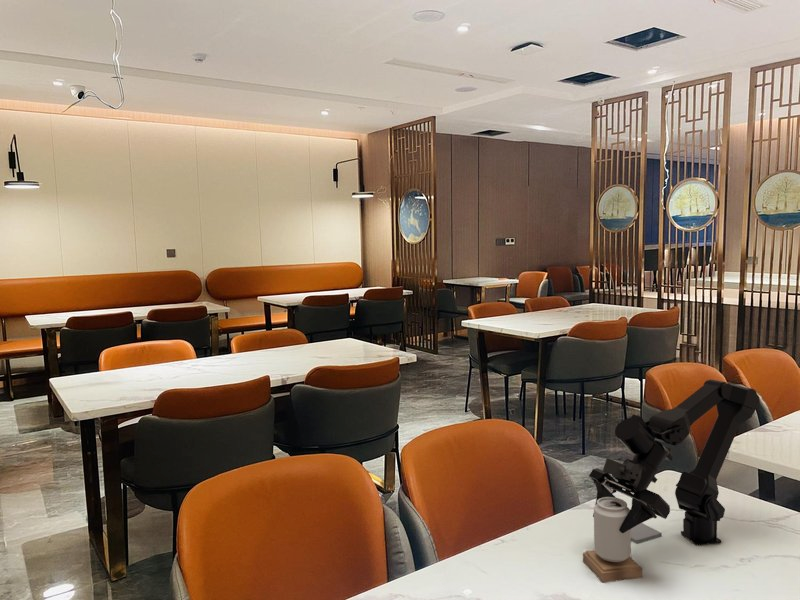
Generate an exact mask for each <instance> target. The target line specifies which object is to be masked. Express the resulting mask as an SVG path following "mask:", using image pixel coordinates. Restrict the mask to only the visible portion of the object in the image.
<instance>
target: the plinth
mask: <svg viewBox="0 0 800 600" xmlns="http://www.w3.org/2000/svg"><path fill="white" fill-rule="evenodd" d="M582 561H583V563H584V564H585V565H586V566H587V567H588V569H590V571H591V572H592V573H593V572H594V573H595V574H596V575H597V576H598V577H599V578H600V579H601V580H600V579H599V578H598V577H597V576H596V575H595V574H594V573H593V574H594V575H595V576H596V577H597V578H598V579H599V580H600V581H601V582H602V583H608V582H607V581H611V582H617V581H616V580H618V581H624V579H626V580H633V579H632V578H634V579H641V578H643V567H642V566H640V565H639V563H638V562H636V561H635V560H634V559H633V558H632V557H631V555H630V556H629V557H628V558H627V559H626V560H624V561H621V562H611V561H607V560H604V559H602V558H601V557H600V556H599V555H598V554H597V553H596V552H595V550H594V549H592V550H587V551H585V552H582ZM640 577H641V578H640Z"/></svg>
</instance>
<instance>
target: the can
mask: <svg viewBox="0 0 800 600" xmlns="http://www.w3.org/2000/svg"><path fill="white" fill-rule="evenodd" d="M595 504H596V503H595ZM630 509H631V508H629V507H628V502H626V501H625V500H624V499H621V498H619V497H616V498H614V497H603V498H600V499H598V500H597V504H596V505H594V506H593V513H594V517H593V536H594V537H593V539H594V540H593V543H594V547H593V548H594V549H593V550H595V552H596V553H597V554H598V555H599V556H600V557H601V558H602V559H604V560H607V561H611V562H621V561H624V560H626V559H627V558H628V557H629V556H630V557H631V555H632V550H631V549H632V547H631V545H632V543H631V542H632V541H631V529H630V530H628V531H626V532H625V533H621V532H620V531H619V529H620V527H621V525H622V523H623V521H624V520H625V518H626V516H627V514H628V513H629V511H630Z"/></svg>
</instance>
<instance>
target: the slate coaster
mask: <svg viewBox="0 0 800 600" xmlns="http://www.w3.org/2000/svg"><path fill="white" fill-rule="evenodd" d="M662 534H663V533H662V532H660V531H658V530H656V529H655V528H652V527H650V526H649V525H647V524H645V523H644V522H642V523H640V524H638V525H637V526H635V527H633V528H632V529H631V542H633V543H634V544H641V543H643V542H648V541H650V540H654V539H657V538H660V537H662Z"/></svg>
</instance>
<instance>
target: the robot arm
mask: <svg viewBox="0 0 800 600" xmlns="http://www.w3.org/2000/svg"><path fill="white" fill-rule="evenodd" d="M759 405H760V396H759V394H758V393H757V391H756V390H755V389H754V388H751V387H745V386H740V385H734V384H731V383H728V382H726V381H721V380H718V379H712V378H711V379H706V380H705V382H704V383H703V385H702V386H701V387H699V388H698V389H697V390H696V391H695V392H693V393H692V394H691V395H689V396H688V397H687V398H686V399H684V400H683V401H681V402H680V403H679V404H678V405H676V407H673V408H669V409H664V410H660V411H659V412H658V413H654V415H652V416H651V417H650V418H649V419H647V420H644V419H643V417H642V416H641V415H637V414H634V413H633V414H632V415H631V416H630V417H629V418H625V419H623V420H622V421H620V422H618V423H617V425H616V427H615V428H614V434H615V437H616V438H617V439H618V440H619V441H620V442H621V443H622V444H623V445H624V446H625V447H626V448H627V450H628V451H629V452H630V453H632V454H633V456H632V457H631V459H629V458H626V459H624V460H623V462H620V461H617V460H615V459H612V458H608V457H606V459H605V462H604V465H603V468H602V469H600V468H592V470H591V472H590V473H589V474H588V478H589V479H591V481H592V482H593V484H594V486H595V487H596V498H595V505H596V504H597V500H598V499H600V498H603V497H614V498H617V497H616V496H615V495H614V494H615V493H617V492H618V493H620V494H622V495H624V496H627V497H629V498H630V499H631V498H632V499H631V508H629V509H630V511H629V513H628V514H627V516H626V518H625V520H624V521H623V523H622V525H621V527H620V529H619V531H620V532H621V533H625V532H626V531H628V530H630V529H632V528H633V527H635V526H637V525H638V524H640V523H645V522H646V521H648V520H651V519H657V518H658V517H661V518H662V519H665V520H666V519H667V518H668V517H669V514H670V513H671V506H670V504H669V503H668V502H667V501H666V500H665V499H664V498H663V497H662V496H661V495H660V494H658V493H657V492H654V491H652V490H649V489H648V488H649V486H650V484H651V483H654V484H656V482H658V478H657V477H656V474H657V473H658V471H659V470H660V468H661V466H662V465H663V463H664V461H665V460H666V461H670V462H672V461H674V460H673V459H674V458H673V454H672V451H671V448H670V447H667V446H664V445H663V444H662V443H664V444H665V443H666V444H667V445H671V446H679V445H680V444H682V443H683V441H684V440H685V439H686V438H687V437H688V435H690V433H691V427H692V426H693V424H694V423H695V422H697V421H698V420H699V419H701V417H703V416H704V415H705V414H707V413H708V411H710V410H711V409H712V408H714V407H715V406H716V411H717V416H716V417H717V418H716V419H715V421H714V424H713V427H712V429H711V430H710V433H709V435H708V438H707V439H706V441H705V444H704V446H703V449H702V451H701V454H700V456H699V457H698V460H697V463H696V464H695V467H694V468H693V469H692V470H690V471H689V472H687V471H685V470H683V471H682V472H681V474H680V477H679V480H678V482H677V483H676V484H675V487H676V488H675V490H674V495H675V500H676V502H677V505H678V508H679V510H681V511H682V510H683V511H685V512H684V518H683V519H682V523H683V525H682V527H683V528H682V529H683V530H681V531H680V535H682V536H683V537H684V538H686V539H688V540H689V541H690V542H691V543H692V544H694V545H695V546H704V545H713V544H720V543H722V539H720V538H719V537H718V534H717V533H718V526H717V525H718V522H721V519H723V518H724V516H725V511H726V509H725V506H723V504H722V503H720V501H719V500H718V496H719V493H720V492H719V487H718V481H717V478H718V476H719V473H720V472H721V470H722V467H723V465H724V463H725V460H726V458H727V455H728V453H729V451H730V448H731V447H732V444H733V442H734V439H735V438H736V434H737V432H738V431H739V428H740V426H741V425H742V424H744V423H745V422H747V421H748V420H749V419H751V418H752V417H753V416H754V414H755V411H756V410H757V409H758V407H759ZM661 442H662V443H661ZM595 505H594V506H595ZM592 517H593V518H594V512H593V515H592Z"/></svg>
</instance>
